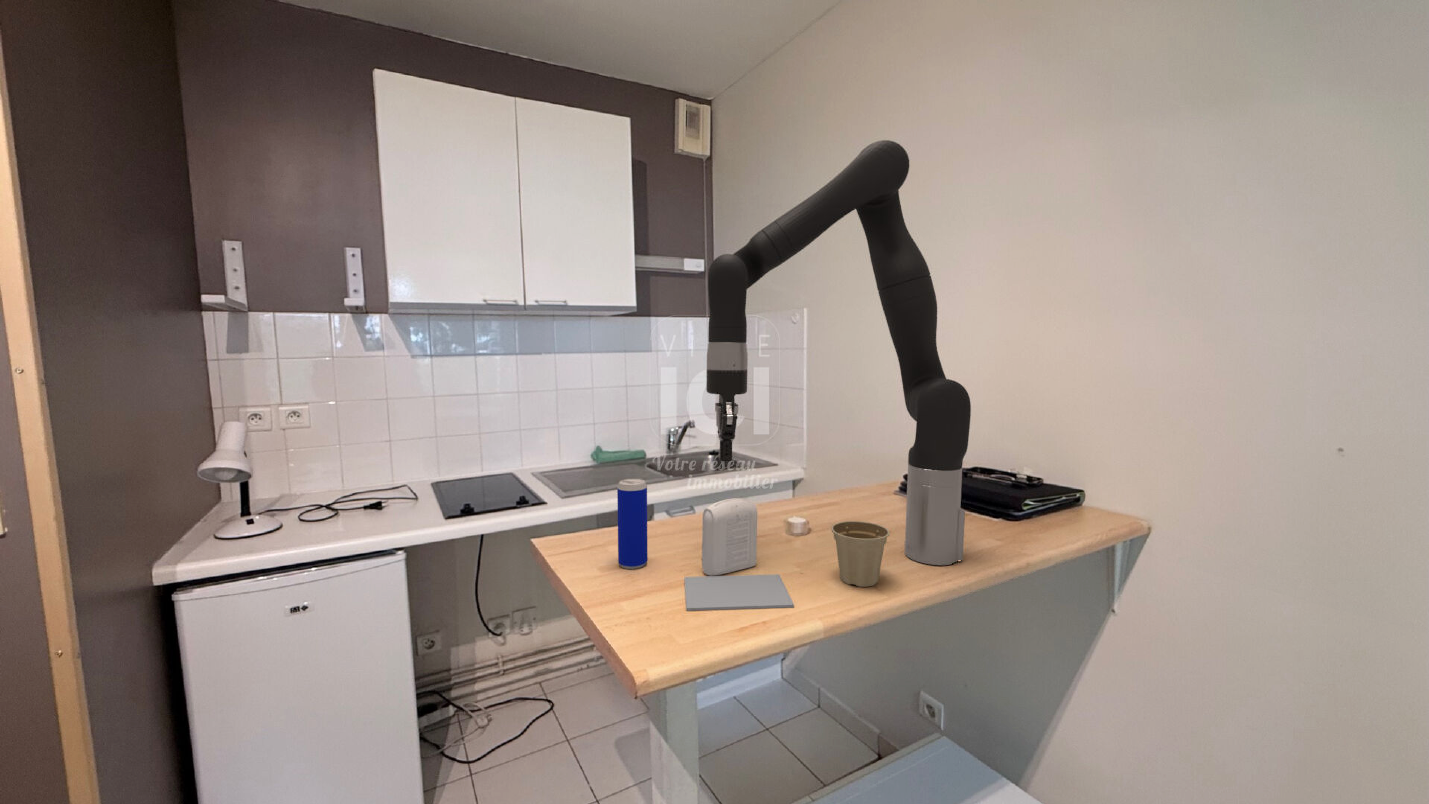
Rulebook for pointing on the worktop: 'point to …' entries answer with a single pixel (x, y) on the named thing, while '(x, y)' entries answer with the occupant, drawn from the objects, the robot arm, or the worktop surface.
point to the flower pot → (859, 551)
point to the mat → (736, 592)
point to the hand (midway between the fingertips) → (725, 460)
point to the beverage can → (632, 523)
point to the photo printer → (729, 536)
